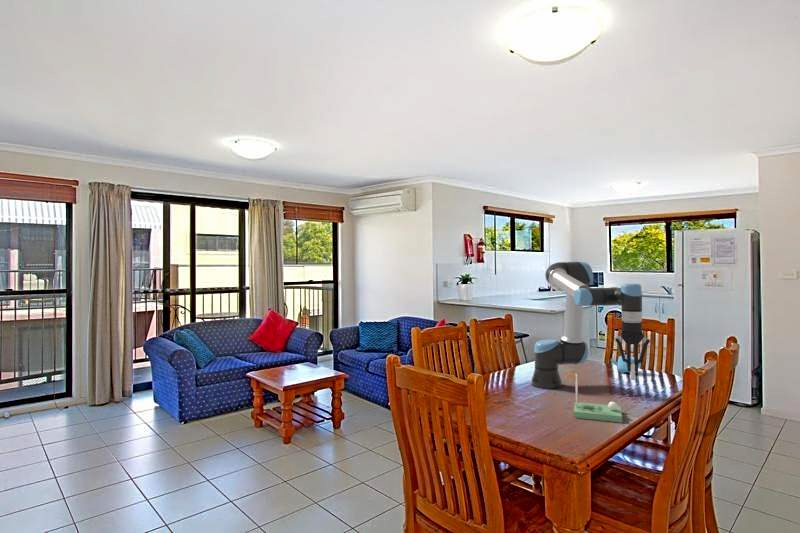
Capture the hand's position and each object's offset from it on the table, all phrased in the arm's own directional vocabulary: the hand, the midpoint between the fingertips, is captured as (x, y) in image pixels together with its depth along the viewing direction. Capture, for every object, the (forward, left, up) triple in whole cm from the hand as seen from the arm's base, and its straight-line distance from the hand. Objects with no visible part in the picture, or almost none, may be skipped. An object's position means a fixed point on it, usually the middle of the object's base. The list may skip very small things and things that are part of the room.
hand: (632, 379), depth 189 cm
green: (-15, 0, -16) cm, 22 cm away
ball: (-8, 0, -12) cm, 14 cm away
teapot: (+3, +86, -16) cm, 88 cm away
